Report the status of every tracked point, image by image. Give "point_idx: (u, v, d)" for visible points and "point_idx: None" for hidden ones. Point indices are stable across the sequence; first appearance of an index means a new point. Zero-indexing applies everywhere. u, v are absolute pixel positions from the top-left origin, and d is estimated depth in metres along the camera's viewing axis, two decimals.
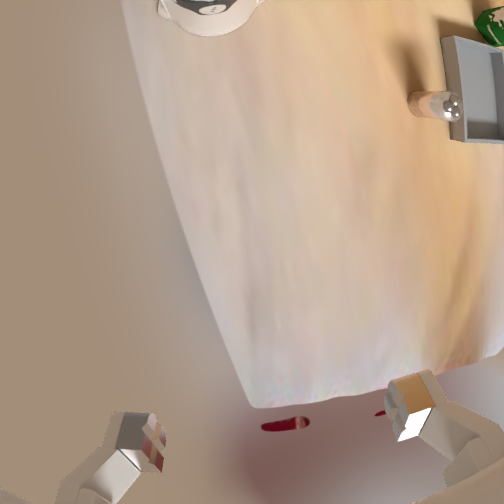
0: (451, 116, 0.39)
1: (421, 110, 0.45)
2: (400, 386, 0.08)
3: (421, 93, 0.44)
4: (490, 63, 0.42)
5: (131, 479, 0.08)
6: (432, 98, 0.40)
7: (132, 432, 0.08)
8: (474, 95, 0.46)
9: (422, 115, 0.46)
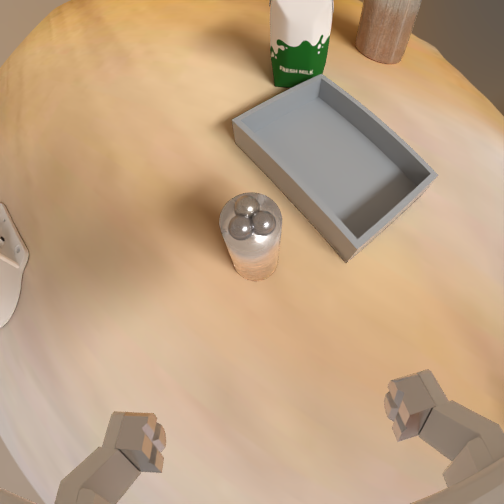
0: (259, 237, 0.25)
1: (241, 268, 0.31)
2: (400, 386, 0.08)
3: None
4: (327, 107, 0.42)
5: (131, 479, 0.08)
6: None
7: (132, 432, 0.08)
8: (335, 167, 0.38)
9: (255, 273, 0.32)
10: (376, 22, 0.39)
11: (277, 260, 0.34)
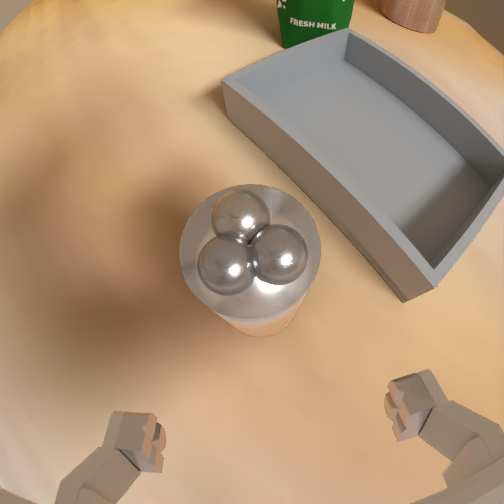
0: (271, 289, 0.11)
1: None
2: (400, 386, 0.08)
3: None
4: (358, 73, 0.27)
5: (131, 479, 0.08)
6: None
7: (132, 432, 0.08)
8: (380, 151, 0.24)
9: (259, 333, 0.18)
10: None
11: None
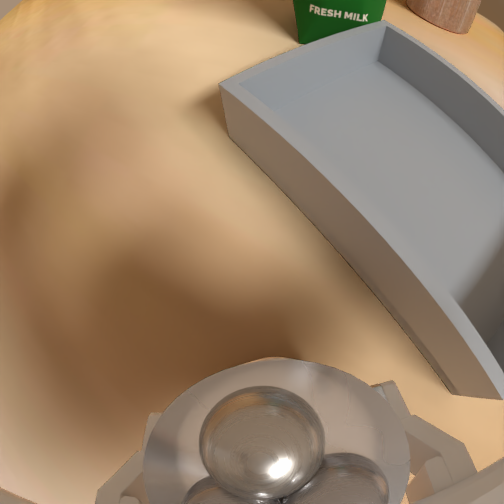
0: None
1: None
2: None
3: None
4: (397, 79, 0.21)
5: None
6: None
7: None
8: (434, 190, 0.17)
9: None
10: None
11: None
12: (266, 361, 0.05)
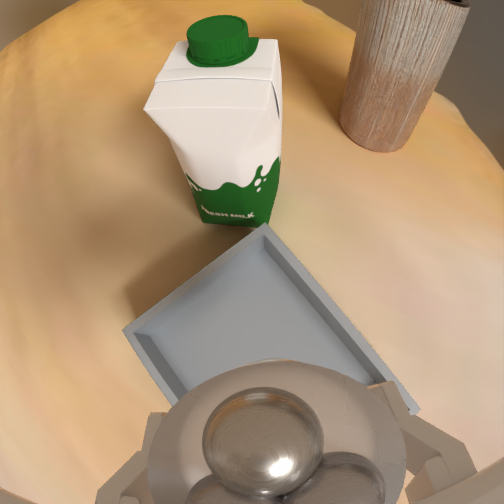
0: None
1: None
2: None
3: None
4: (276, 273, 0.30)
5: None
6: None
7: None
8: None
9: None
10: (371, 94, 0.27)
11: None
12: (267, 363, 0.05)
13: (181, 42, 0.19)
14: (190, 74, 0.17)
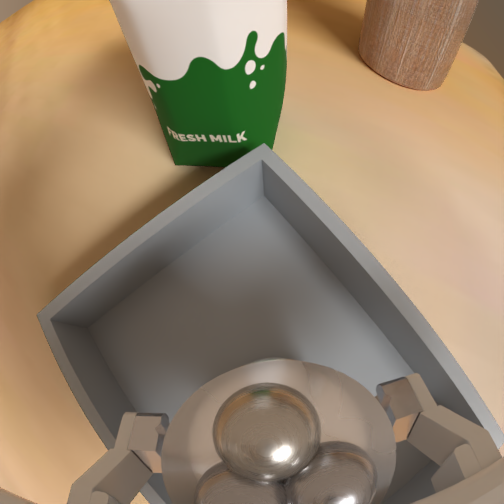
0: None
1: None
2: (387, 390, 0.08)
3: None
4: (282, 230, 0.19)
5: (143, 480, 0.08)
6: None
7: (145, 433, 0.08)
8: None
9: None
10: (402, 4, 0.16)
11: None
12: (270, 361, 0.06)
13: None
14: None
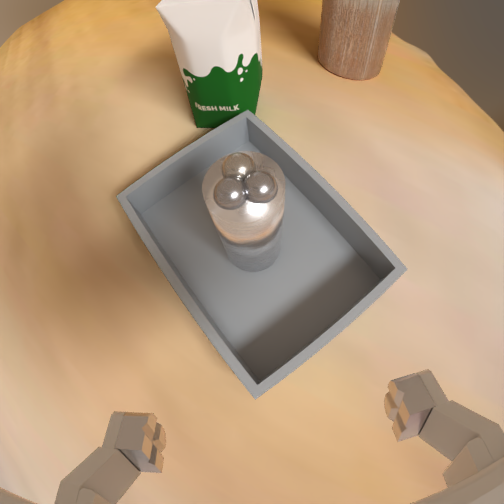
0: (255, 206, 0.18)
1: (234, 253, 0.24)
2: (400, 386, 0.08)
3: None
4: None
5: (131, 479, 0.08)
6: None
7: (132, 432, 0.08)
8: None
9: (251, 260, 0.25)
10: (338, 24, 0.30)
11: (280, 245, 0.27)
12: (240, 151, 0.20)
13: None
14: None
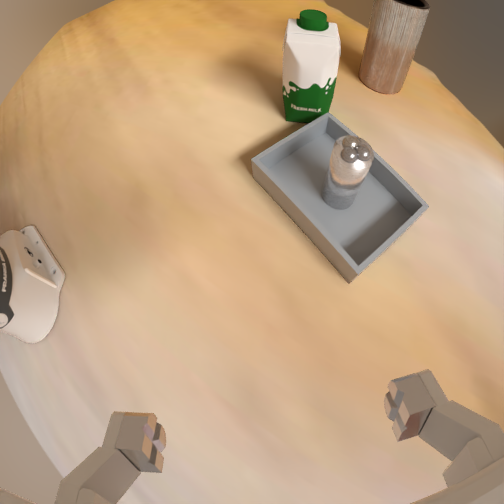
0: (362, 161, 0.35)
1: (337, 193, 0.41)
2: (400, 386, 0.08)
3: (325, 177, 0.42)
4: (333, 143, 0.49)
5: (131, 479, 0.08)
6: (331, 166, 0.38)
7: (132, 432, 0.08)
8: None
9: (345, 199, 0.41)
10: (378, 57, 0.46)
11: None
12: None
13: (291, 19, 0.37)
14: (303, 32, 0.36)
